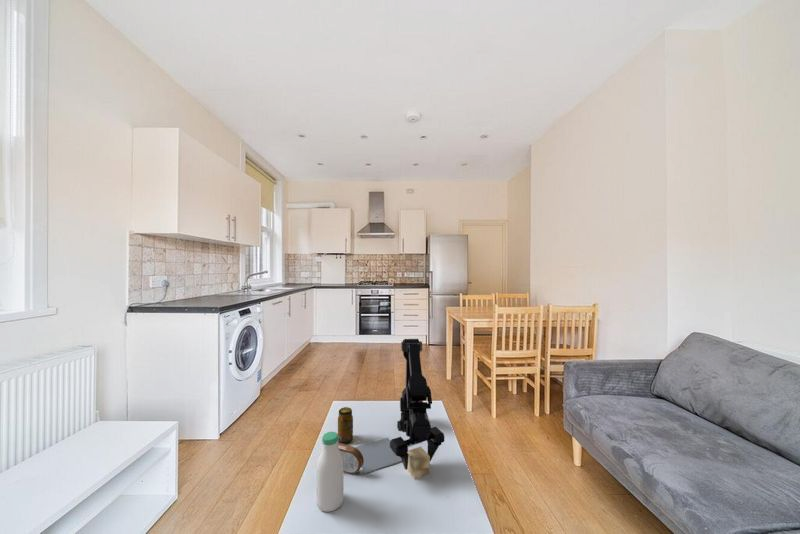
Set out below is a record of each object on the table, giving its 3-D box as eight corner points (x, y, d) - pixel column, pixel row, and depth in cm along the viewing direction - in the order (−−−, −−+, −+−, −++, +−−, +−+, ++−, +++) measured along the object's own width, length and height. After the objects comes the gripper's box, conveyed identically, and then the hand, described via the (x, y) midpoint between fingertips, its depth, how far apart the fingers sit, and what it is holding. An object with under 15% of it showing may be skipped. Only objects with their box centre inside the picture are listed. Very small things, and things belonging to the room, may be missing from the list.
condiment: (348, 432, 125) (348, 404, 125) (359, 441, 118) (359, 412, 118) (332, 439, 120) (332, 409, 120) (343, 449, 114) (343, 418, 113)
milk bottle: (348, 501, 88) (348, 435, 88) (326, 517, 83) (326, 446, 83) (333, 488, 94) (333, 425, 93) (311, 502, 88) (311, 435, 88)
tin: (364, 471, 101) (364, 447, 101) (359, 478, 98) (359, 453, 98) (326, 462, 106) (326, 438, 106) (320, 467, 103) (320, 443, 103)
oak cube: (420, 463, 106) (420, 446, 106) (429, 473, 100) (429, 456, 100) (405, 468, 103) (405, 451, 103) (414, 479, 98) (414, 461, 98)
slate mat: (387, 438, 120) (387, 437, 120) (405, 460, 107) (405, 459, 107) (352, 448, 114) (352, 447, 114) (365, 473, 100) (365, 472, 100)
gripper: (428, 404, 113) (428, 444, 113) (383, 415, 105) (383, 459, 105) (445, 417, 103) (445, 462, 103) (397, 431, 95) (397, 479, 95)
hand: (417, 465), depth 102 cm, fingers open, 9 cm apart
